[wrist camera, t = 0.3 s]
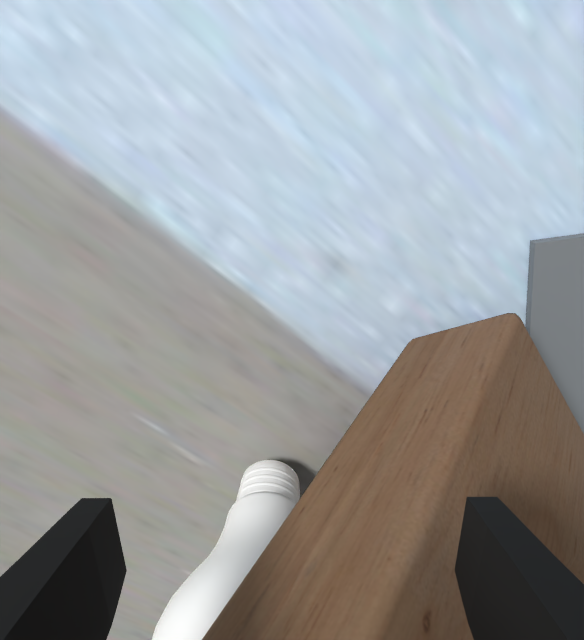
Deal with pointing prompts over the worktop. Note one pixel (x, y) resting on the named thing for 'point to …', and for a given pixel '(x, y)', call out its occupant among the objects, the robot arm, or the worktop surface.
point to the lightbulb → (232, 551)
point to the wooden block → (420, 495)
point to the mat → (559, 313)
